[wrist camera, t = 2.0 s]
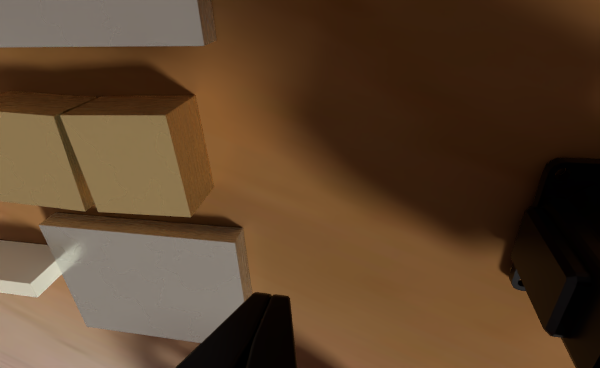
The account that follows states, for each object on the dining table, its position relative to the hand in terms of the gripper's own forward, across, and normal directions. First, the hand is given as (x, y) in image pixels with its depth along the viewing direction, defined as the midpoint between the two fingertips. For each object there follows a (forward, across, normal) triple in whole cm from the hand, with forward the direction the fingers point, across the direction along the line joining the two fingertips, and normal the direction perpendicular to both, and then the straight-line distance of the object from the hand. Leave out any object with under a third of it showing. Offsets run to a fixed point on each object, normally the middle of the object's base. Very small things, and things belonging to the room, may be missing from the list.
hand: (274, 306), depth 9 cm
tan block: (+9, +8, 0) cm, 12 cm away
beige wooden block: (+9, +13, 0) cm, 15 cm away
